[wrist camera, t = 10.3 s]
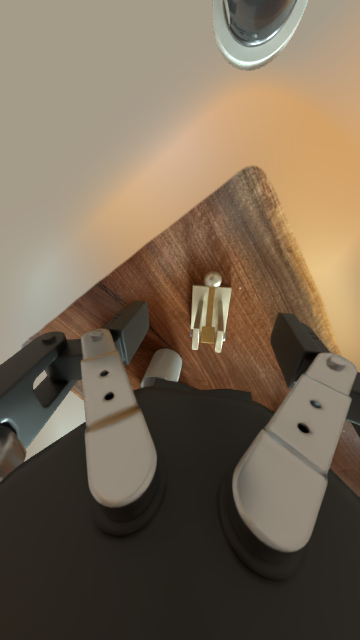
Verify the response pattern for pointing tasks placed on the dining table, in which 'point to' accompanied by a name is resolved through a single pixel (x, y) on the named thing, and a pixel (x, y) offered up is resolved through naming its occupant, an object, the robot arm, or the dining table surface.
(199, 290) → the switch bracket
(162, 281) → the dining table surface
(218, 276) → the switch lever
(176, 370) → the cup
